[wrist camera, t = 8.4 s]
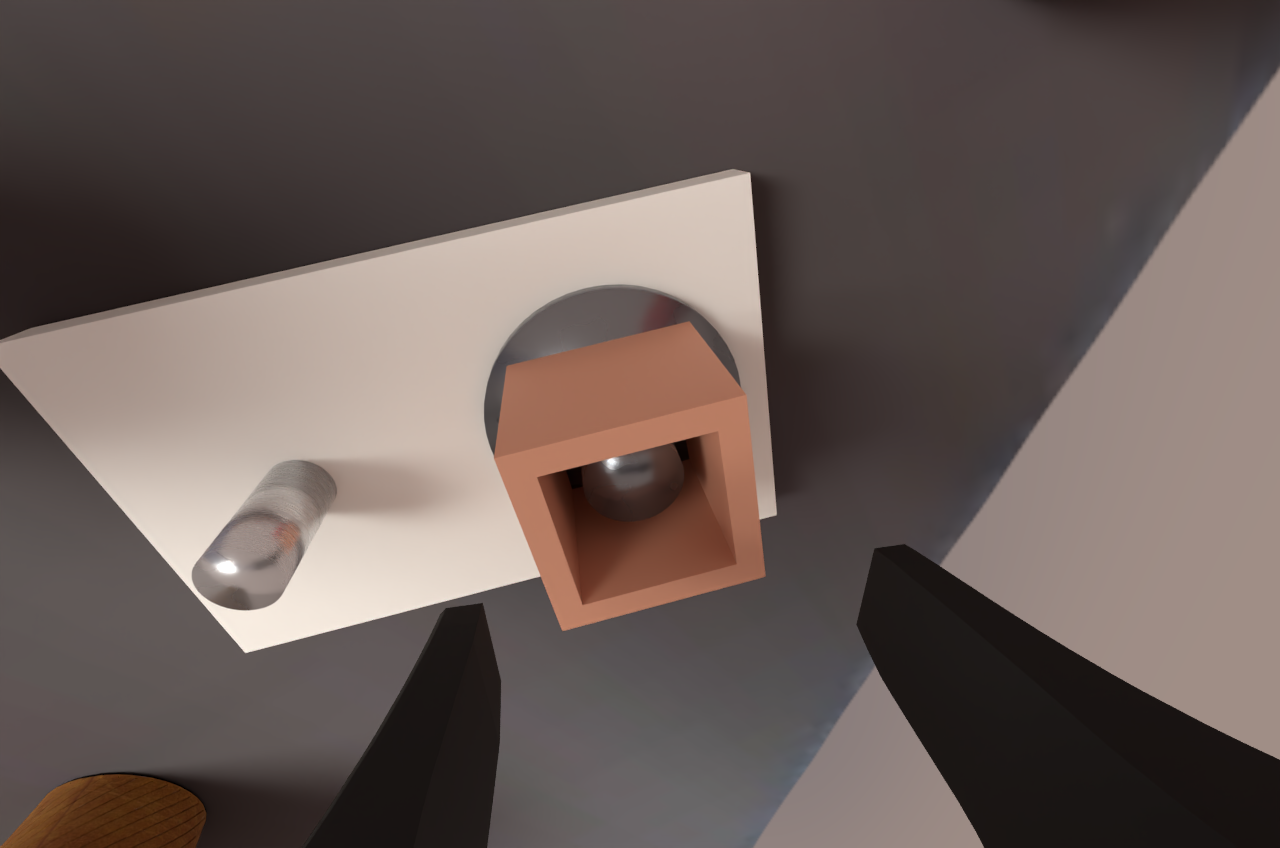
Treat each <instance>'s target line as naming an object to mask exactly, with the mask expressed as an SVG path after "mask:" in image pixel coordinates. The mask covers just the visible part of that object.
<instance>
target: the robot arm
mask: <svg viewBox="0 0 1280 848" xmlns="http://www.w3.org/2000/svg"><path fill="white" fill-rule="evenodd" d="M857 627H858V629H859V631H860V633H861V636H862V638H863V640H864V642H865V645H866V647H867V649H868V651H869V653H870V655H871V657H872V660H873V662H874V664H875V666H876V668H877V670H878V672H879V674H880V676H881V677H882V679H883V681H884V683H885V684H886V686H887V688H888V689H889V691H890V693H891V694H892V696H893V698H894V699H895V701H896V702H897V704H898V706H899V707H900V709H901V710H902V712H903V714H904V715H905V717H906V719H907V720H908V722H909V723H910V725H911V727H912V728H913V729H914V731H915V733H916V735H917V736H918V738H919V739H920V741H921V742H922V744H923V746H924V747H925V749H926V750H927V752H928V754H929V755H930V757H931V758H932V760H933V762H934V763H935V765H936V766H937V768H938V770H939V771H940V773H941V775H942V776H943V778H944V779H945V781H946V782H947V784H948V786H949V787H950V789H951V790H952V792H953V793H954V795H955V797H956V798H957V800H958V802H959V803H960V805H961V807H962V808H963V810H964V812H965V814H966V815H967V817H968V819H969V820H970V822H971V824H972V825H973V827H974V829H975V831H976V833H977V835H978V837H979V838H980V840H981V842H982V844H983V846H984V848H1280V760H1279V759H1277V758H1275V757H1273V756H1270V755H1268V754H1266V753H1264V752H1262V751H1260V750H1258V749H1256V748H1253V747H1251V746H1249V745H1247V744H1245V743H1243V742H1241V741H1239V740H1237V739H1235V738H1232V737H1231V736H1228V735H1226V734H1224V733H1222V732H1220V731H1218V730H1216V729H1214V728H1212V727H1210V726H1208V725H1206V724H1204V723H1202V722H1200V721H1198V720H1197V719H1195V718H1193V717H1191V716H1189V715H1187V714H1185V713H1183V712H1181V711H1179V710H1177V709H1176V708H1174V707H1172V706H1170V705H1168V704H1166V703H1164V702H1162V701H1160V700H1158V699H1156V698H1155V697H1152V696H1151V695H1149V694H1147V693H1145V692H1143V691H1141V690H1140V689H1138V688H1136V687H1134V686H1132V685H1130V684H1129V683H1127V682H1125V681H1123V680H1122V679H1120V678H1118V677H1116V676H1114V675H1112V674H1111V673H1109V672H1107V671H1106V670H1104V669H1102V668H1101V667H1099V666H1097V665H1096V664H1094V663H1092V662H1090V661H1089V660H1087V659H1085V658H1084V657H1082V656H1080V655H1079V654H1077V653H1075V652H1073V651H1072V650H1070V649H1068V648H1066V647H1065V646H1063V645H1062V644H1060V643H1058V642H1057V641H1055V640H1053V639H1052V638H1050V637H1049V636H1047V635H1045V634H1044V633H1042V632H1040V631H1039V630H1037V629H1036V628H1034V627H1032V626H1031V625H1029V624H1028V623H1026V622H1025V621H1023V620H1021V619H1020V618H1018V617H1017V616H1015V615H1014V614H1012V613H1010V612H1009V611H1007V610H1006V609H1004V608H1003V607H1001V606H1000V605H998V604H997V603H995V602H993V601H992V600H990V599H988V598H987V597H985V596H984V595H983V594H981V593H980V592H978V591H977V590H975V589H973V588H972V587H970V586H969V585H967V584H966V583H964V582H963V581H961V580H960V579H958V578H957V577H955V576H954V575H952V574H951V573H949V572H948V571H946V570H945V569H943V568H942V567H940V566H939V565H937V564H935V563H934V562H932V561H931V560H929V559H928V558H926V557H925V556H923V555H921V554H920V553H918V552H917V551H915V550H913V549H912V548H910V547H908V546H907V545H905V544H903V545H896V546H889V547H882V548H875V549H874V553H873V557H872V562H871V566H870V570H869V574H868V578H867V583H866V587H865V591H864V595H863V599H862V604H861V608H860V612H859V616H858V620H857ZM500 707H501V679H500V675H499V671H498V666H497V662H496V658H495V654H494V649H493V645H492V641H491V637H490V632H489V628H488V624H487V620H486V615H485V611H484V607H483V603H480V604H473V605H466V606H459V607H452V608H446V609H445V610H444V611H443V612H442V613H441V614H440V616H439V618H438V621H437V623H436V625H435V627H434V629H433V631H432V633H431V635H430V637H429V639H428V641H427V643H426V645H425V647H424V649H423V651H422V653H421V655H420V656H419V658H418V660H417V662H416V664H415V666H414V668H413V670H412V671H411V673H410V675H409V677H408V679H407V681H406V682H405V684H404V686H403V688H402V690H401V691H400V693H399V695H398V697H397V698H396V700H395V702H394V704H393V705H392V707H391V709H390V710H389V712H388V714H387V716H386V717H385V719H384V721H383V722H382V724H381V726H380V728H379V729H378V731H377V733H376V735H375V736H374V738H373V739H372V741H371V743H370V744H369V746H368V748H367V749H366V751H365V752H364V754H363V756H362V757H361V759H360V760H359V762H358V763H357V765H356V767H355V768H354V770H353V771H352V773H351V774H350V776H349V777H348V779H347V781H346V782H345V784H344V785H343V787H342V788H341V790H340V792H339V793H338V795H337V796H336V798H335V799H334V801H333V802H332V804H331V806H330V807H329V809H328V810H327V812H326V813H325V815H324V816H323V817H322V819H321V820H320V822H319V823H318V825H317V826H316V828H315V829H314V831H313V832H312V834H311V835H310V836H309V838H308V839H307V841H306V842H305V844H304V845H303V846H302V848H487V843H488V835H489V827H490V819H491V811H492V803H493V795H494V786H495V778H496V770H497V761H498V753H499V744H500Z"/></svg>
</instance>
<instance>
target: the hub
mask: <svg viewBox="0 0 1280 848" xmlns="http://www.w3.org/2000/svg"><path fill="white" fill-rule="evenodd" d="M688 321H690V323H691V324H692V325H693V327H694V328H695V329H696V330H697V332H698V333H699V334H700V336H701V337H702V338H703V339H704V341H705V342H706V343H707V345H708V346H709V347H710V348H711V350H712V351H713V352H714V354H715V355H716V356H717V357H718V359H719V360H720V361H721V363H722V364H723V365H724V367H725V368H726V369H727V370H728V372H729V373H730V374H731V376H732V377H733V378H734V379H735V381H736V382H737V383H738V385H739V386H740V387H741V384H740V378H739V373H738V370H737V367H736V364H735V361H734V358H733V356H732V354H731V352H730V350H729V348H728V346H727V344H726V343H725V341H724V340H723V339H722V337H721V336H720V334H719V333H718V332H717V330H716V329H715V328H714V327H713V326H712V325H711V324H710V323H709V322H708V321H707V320H706V319H705V318H704V317H703V316H702V315H701V314H700V313H699V312H697V311H696V310H695V309H694V308H692V307H691V306H690V305H688V304H686V303H685V302H683V301H681V300H679V299H677V298H676V297H674V296H671V295H669V294H666V293H664V292H661V291H658V290H655V289H651V288H646V287H642V286H634V285H624V284H617V285H601V286H595V287H589V288H584V289H581V290H577V291H574V292H571V293H568V294H566V295H563V296H561V297H559V298H557V299H555V300H552V301H550V302H549V303H547V304H546V305H544V306H542V307H541V308H539V309H538V310H536V311H535V312H534V313H532V314H531V315H530V316H529V317H528V318H526V319H525V320H524V321H523V322H522V323H521V324H520V325H519V326H518V327H517V328H516V329H515V330H514V331H513V333H512V334H511V335H510V336H509V337H508V339H507V340H506V342H505V343H504V345H503V346H502V348H501V349H500V351H499V353H498V355H497V357H496V359H495V361H494V363H493V366H492V369H491V372H490V375H489V378H488V382H487V387H486V394H485V400H484V423H485V429H486V435H487V438H488V442H489V445H490V448H491V450H492V453H493V455H494V454H495V447H496V439H497V432H498V425H499V418H500V411H501V403H502V396H503V389H504V382H505V375H506V367H507V366H508V365H512V364H516V363H520V362H524V361H528V360H532V359H537V358H541V357H545V356H549V355H553V354H557V353H561V352H565V351H569V350H573V349H578V348H582V347H586V346H590V345H594V344H598V343H602V342H606V341H610V340H614V339H619V338H623V337H627V336H631V335H635V334H639V333H643V332H647V331H651V330H655V329H660V328H664V327H668V326H672V325H676V324H680V323H684V322H688ZM688 459H689V454H688V448H687V443H686V439H685V440H681V441H677V442H673V443H669V444H665V445H662V446H658V447H654V448H650V449H646V450H642V451H638V452H634V453H630V454H626V455H622V456H618V457H614V458H610V459H606V460H603V461H599V462H595V463H591V464H587V465H583V466H579V467H575V468H571V469H567V470H566V472H567V475H568V478H569V481H570V484H571V487H572V489H575V488H579V487H583V489H584V493H585V496H586V499H587V500H588V502H589V504H590V505H591V506H592V507H593V508H594V509H595V510H596V511H597V512H598V513H600V514H601V515H603V516H605V517H607V518H610V519H612V520H617V521H623V522H634V521H641V520H645V519H648V518H651V517H653V516H655V515H657V514H659V513H661V512H662V511H664V510H665V509H667V508H668V507H669V506H670V505H671V504H672V503H673V502H674V501H675V499H676V498H677V496H678V495H679V493H680V491H681V489H682V486H683V482H684V468H683V464H682V461H684V460H688Z"/></svg>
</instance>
